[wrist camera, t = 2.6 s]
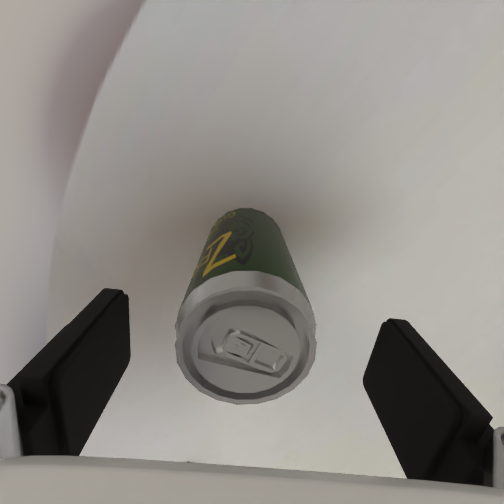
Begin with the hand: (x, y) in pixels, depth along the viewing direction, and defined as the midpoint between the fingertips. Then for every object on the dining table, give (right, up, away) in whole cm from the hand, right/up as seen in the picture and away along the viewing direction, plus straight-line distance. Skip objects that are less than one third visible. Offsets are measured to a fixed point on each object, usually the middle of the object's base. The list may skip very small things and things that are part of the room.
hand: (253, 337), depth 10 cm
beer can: (-1, +4, +11) cm, 12 cm away
